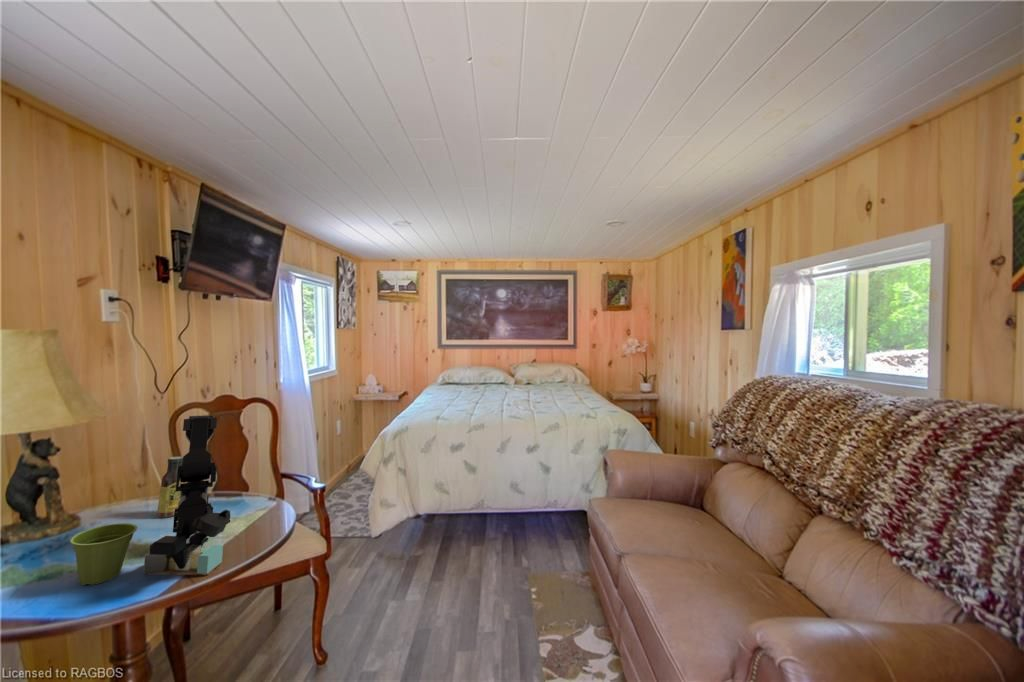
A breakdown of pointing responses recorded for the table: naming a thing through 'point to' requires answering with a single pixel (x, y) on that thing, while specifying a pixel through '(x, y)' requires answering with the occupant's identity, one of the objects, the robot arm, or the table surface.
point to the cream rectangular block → (187, 559)
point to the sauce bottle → (169, 489)
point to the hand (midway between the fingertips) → (187, 564)
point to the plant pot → (101, 551)
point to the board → (178, 572)
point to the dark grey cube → (155, 563)
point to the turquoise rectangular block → (210, 559)
